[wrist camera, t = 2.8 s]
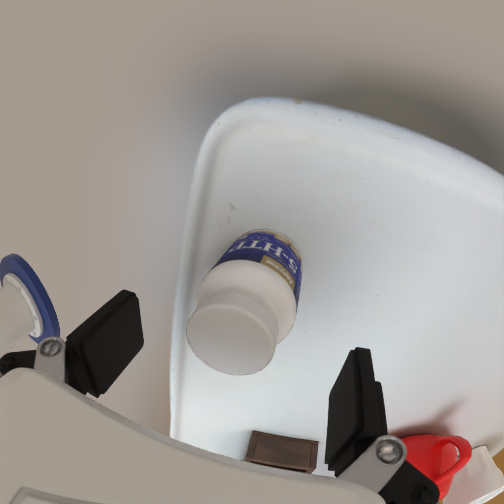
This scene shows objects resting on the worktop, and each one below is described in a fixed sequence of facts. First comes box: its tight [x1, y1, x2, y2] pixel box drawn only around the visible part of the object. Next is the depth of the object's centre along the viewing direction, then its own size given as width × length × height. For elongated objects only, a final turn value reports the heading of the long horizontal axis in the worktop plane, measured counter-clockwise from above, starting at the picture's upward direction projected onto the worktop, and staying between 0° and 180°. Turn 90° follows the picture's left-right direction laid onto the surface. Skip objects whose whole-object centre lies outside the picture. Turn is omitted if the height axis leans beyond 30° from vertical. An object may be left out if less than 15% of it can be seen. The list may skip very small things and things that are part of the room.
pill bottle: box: [186, 229, 303, 375], centre depth 15 cm, size 5×5×9 cm
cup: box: [443, 446, 504, 504], centre depth 19 cm, size 12×12×11 cm
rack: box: [244, 431, 319, 474], centre depth 29 cm, size 8×23×4 cm, turn 173°
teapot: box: [399, 434, 472, 501], centre depth 20 cm, size 25×16×12 cm, turn 166°
